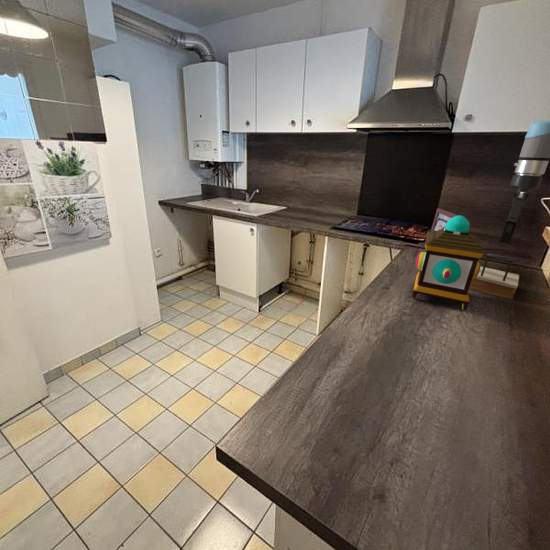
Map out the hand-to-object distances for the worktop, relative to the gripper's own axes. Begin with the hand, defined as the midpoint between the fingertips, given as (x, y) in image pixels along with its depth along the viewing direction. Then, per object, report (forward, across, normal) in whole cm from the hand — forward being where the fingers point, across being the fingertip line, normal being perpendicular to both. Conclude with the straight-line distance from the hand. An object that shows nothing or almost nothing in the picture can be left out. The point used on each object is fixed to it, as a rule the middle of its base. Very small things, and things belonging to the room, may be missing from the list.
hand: (505, 238), depth 102 cm
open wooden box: (+22, -9, 0) cm, 24 cm away
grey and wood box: (+17, -8, 0) cm, 19 cm away
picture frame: (+22, -26, -21) cm, 40 cm away
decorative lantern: (+22, +13, -14) cm, 29 cm away
